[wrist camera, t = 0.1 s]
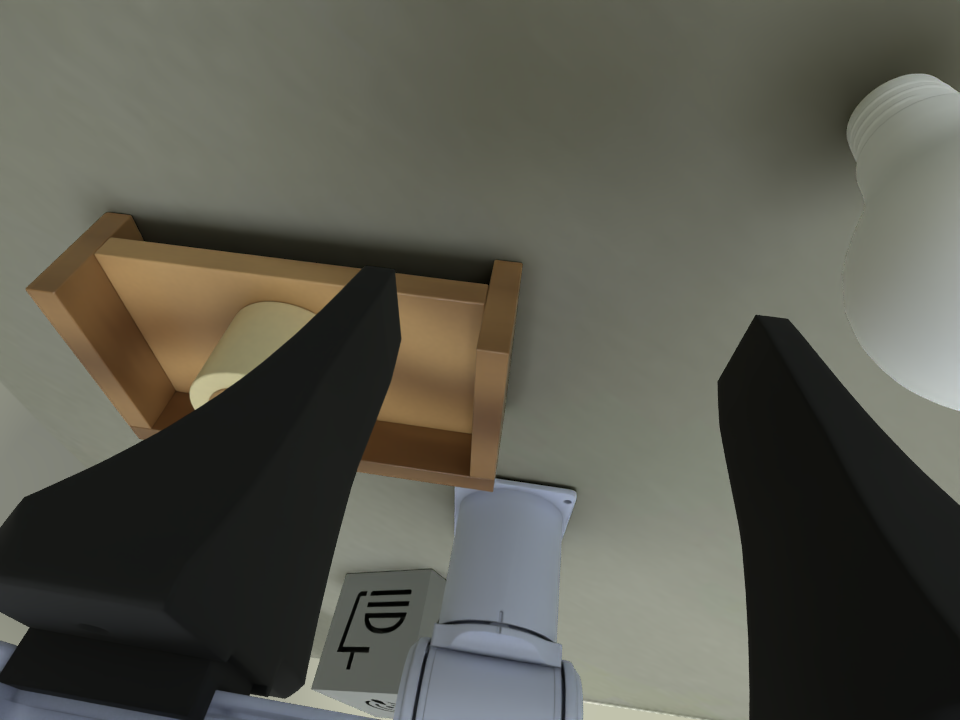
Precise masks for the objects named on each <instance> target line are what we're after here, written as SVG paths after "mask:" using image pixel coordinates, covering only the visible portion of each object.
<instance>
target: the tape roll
mask: <svg viewBox="0 0 960 720" xmlns="http://www.w3.org/2000/svg"><path fill="white" fill-rule="evenodd" d="M315 315H316V314H314V313H312V312H310V311H308V310H306V309H303V308H300V307H298V306H295V305H291V304H287V303H281V302H258V303H254V304H251V305H248V306H246V307H244V308H243V309H241V310H240V311H239V312H238V313H237V314H236V316H235V317H234V319H233V320H232V322H231V323H230V325H229V327H228V328H227V330H226V331H225V333H224V334H223V336H222V338H221V339H220V341H219V342H218V344H217V345H216V347H215V349H214V350H213V352H212V353H211V355H210V356H209V358H208V359H207V361H206V363H205V364H204V366H203V367H202V369H201V370H200V372H199V374H198V375H197V377H196V378H195V380H194V381H193V383H192V385H191V387H190V392H189V394H190V401H191V404H192V406H193V408H194V409H195V410H196V409H197V408H199V407H200V406H202V405H204V404H205V403H207V402H208V401H210V400H211V399H213V398H214V397H216V396H217V395H219V394H220V393H222V392H223V391H225V390H226V389H227V388H229V387H230V386H232V385H233V384H234V383H236V382H237V381H238V380H240V379H241V378H243V377H244V376H245V375H247V374H248V373H249V372H250V371H252V370H253V369H254V368H256V367H257V366H258V365H259V364H261V363H262V362H263V361H264V360H266V359H267V358H268V357H269V356H270V355H271V354H273V353H274V352H275V351H276V350H277V349H279V348H280V347H281V346H282V345H283V344H284V343H286V342H287V341H288V340H289V339H290V338H291V337H293V336H294V335H295V334H296V333H297V332H298V331H299V330H300V329H301V328H302V327H303V326H305V325H306V324H307V323H308V322H309V321H310V320H311V319H312V318H313V317H314V316H315Z"/></svg>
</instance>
